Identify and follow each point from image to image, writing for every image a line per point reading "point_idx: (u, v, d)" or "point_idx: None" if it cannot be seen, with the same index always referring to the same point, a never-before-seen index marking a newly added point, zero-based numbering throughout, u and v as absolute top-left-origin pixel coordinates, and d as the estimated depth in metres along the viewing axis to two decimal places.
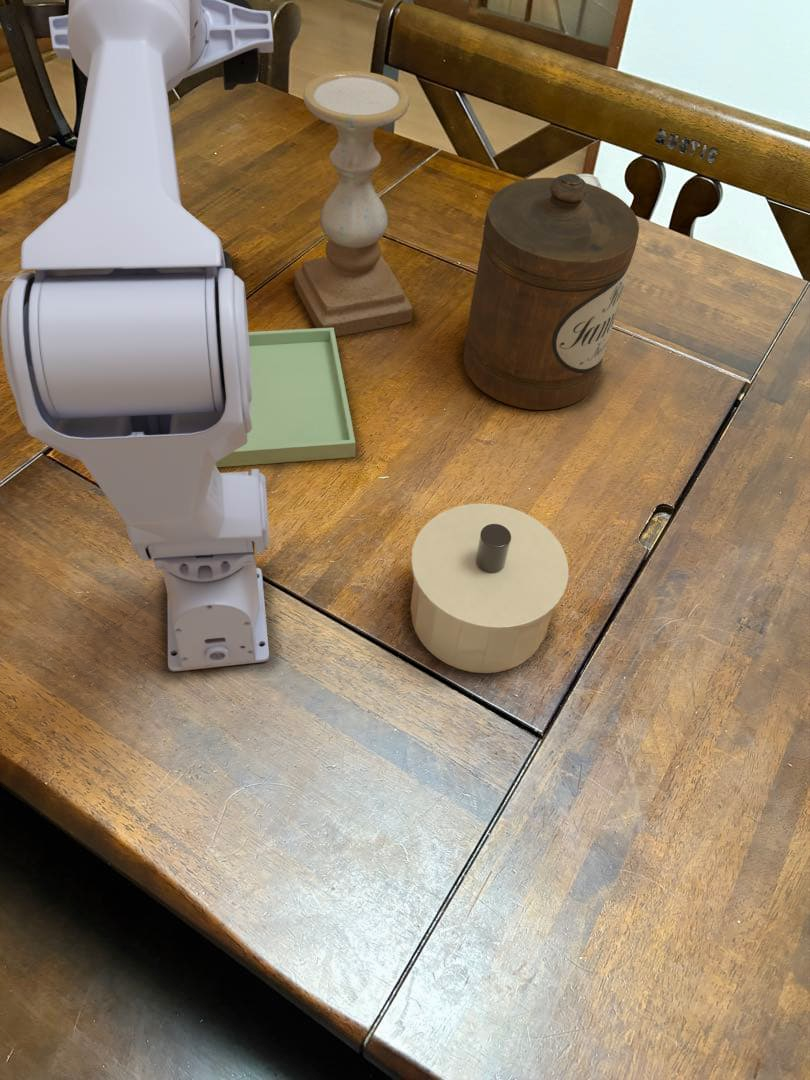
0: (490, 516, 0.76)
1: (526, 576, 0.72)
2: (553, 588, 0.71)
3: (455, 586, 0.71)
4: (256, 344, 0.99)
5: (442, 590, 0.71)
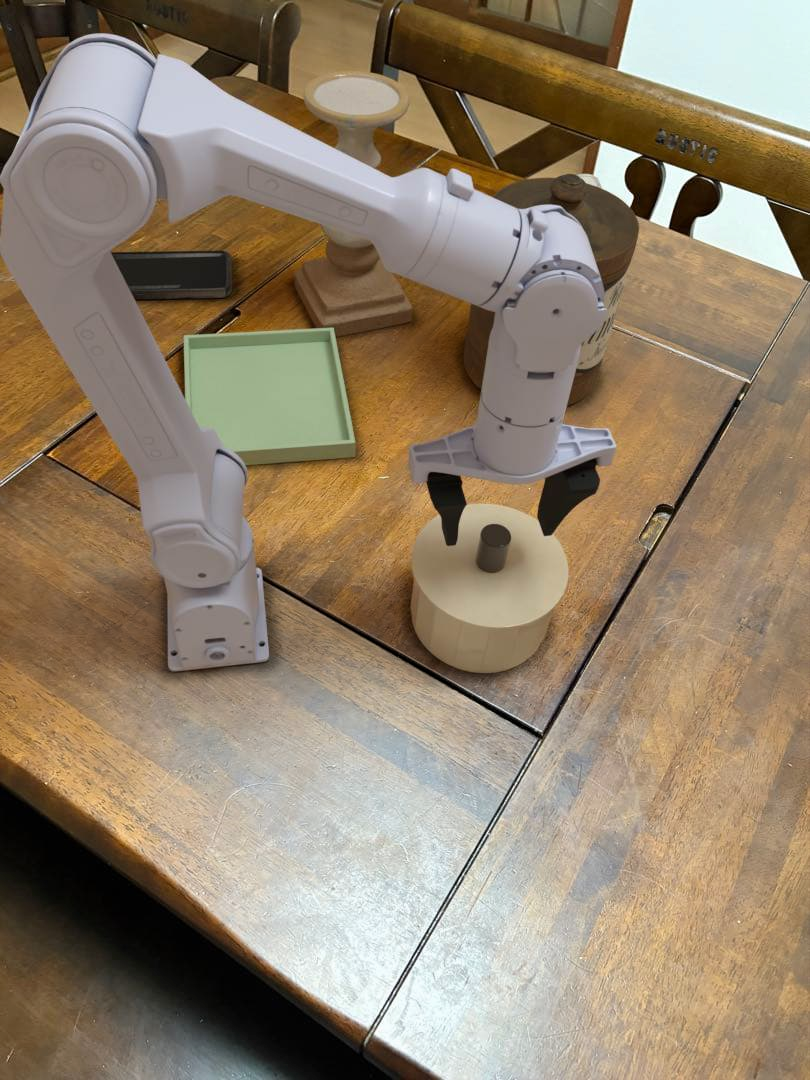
0: (490, 516, 0.76)
1: (526, 576, 0.72)
2: (553, 588, 0.71)
3: (455, 586, 0.71)
4: (256, 344, 0.99)
5: (442, 590, 0.71)
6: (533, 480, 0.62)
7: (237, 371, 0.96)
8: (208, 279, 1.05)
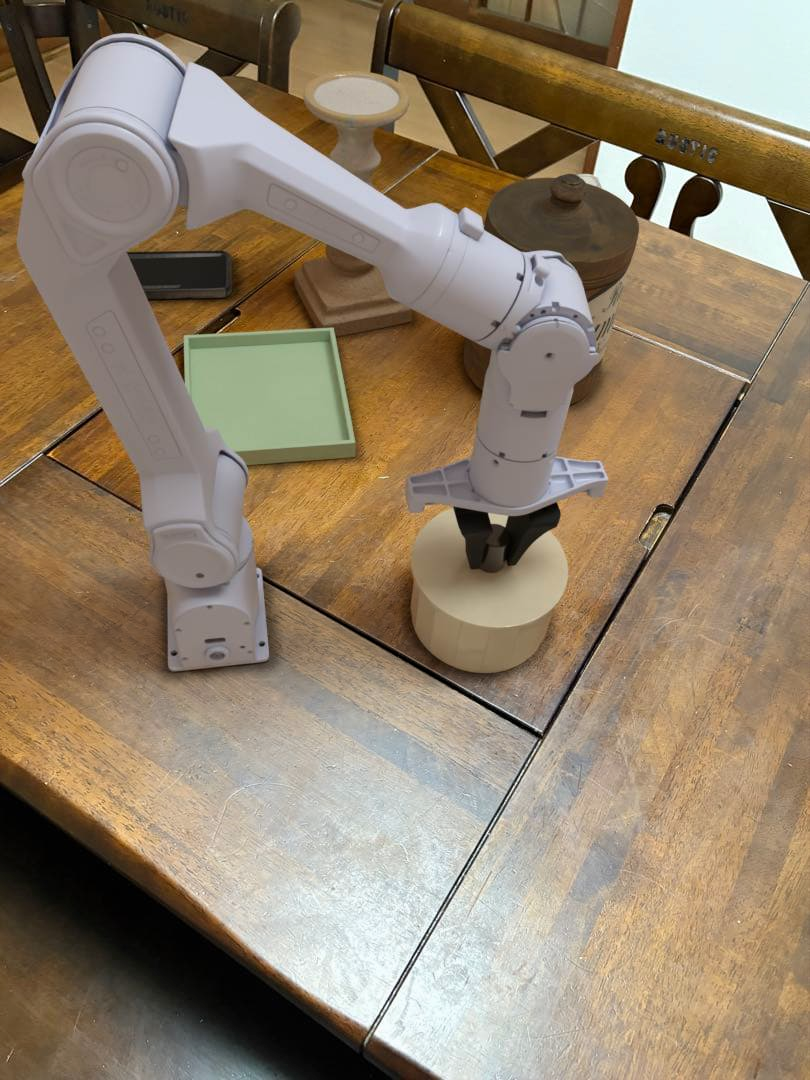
0: (490, 516, 0.76)
1: (526, 576, 0.72)
2: (553, 588, 0.71)
3: (455, 586, 0.71)
4: (256, 344, 0.99)
5: (442, 590, 0.71)
6: (526, 512, 0.64)
7: (237, 371, 0.96)
8: (208, 279, 1.05)
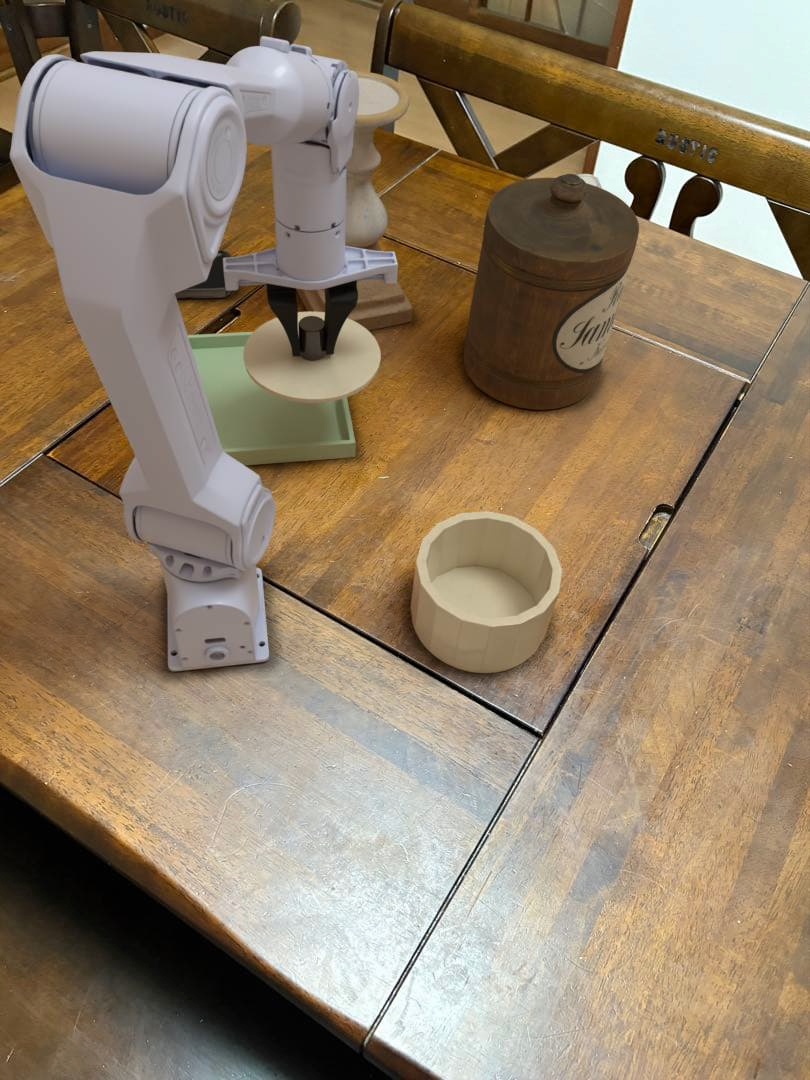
0: None
1: (342, 364, 0.83)
2: (364, 373, 0.83)
3: (278, 370, 0.82)
4: None
5: (266, 372, 0.82)
6: (322, 286, 0.75)
7: (237, 371, 0.96)
8: (208, 279, 1.05)
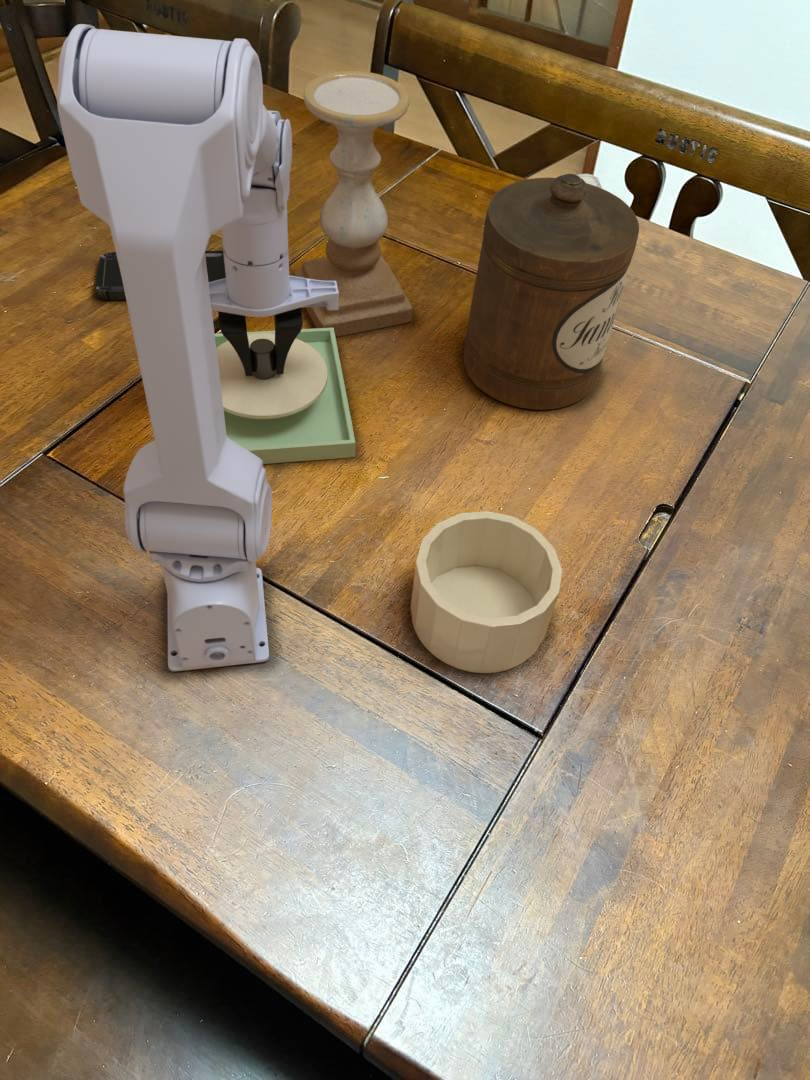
0: (271, 342, 0.94)
1: (291, 382, 0.90)
2: (311, 390, 0.90)
3: (231, 388, 0.89)
4: None
5: (221, 390, 0.89)
6: (269, 314, 0.82)
7: None
8: (208, 279, 1.05)
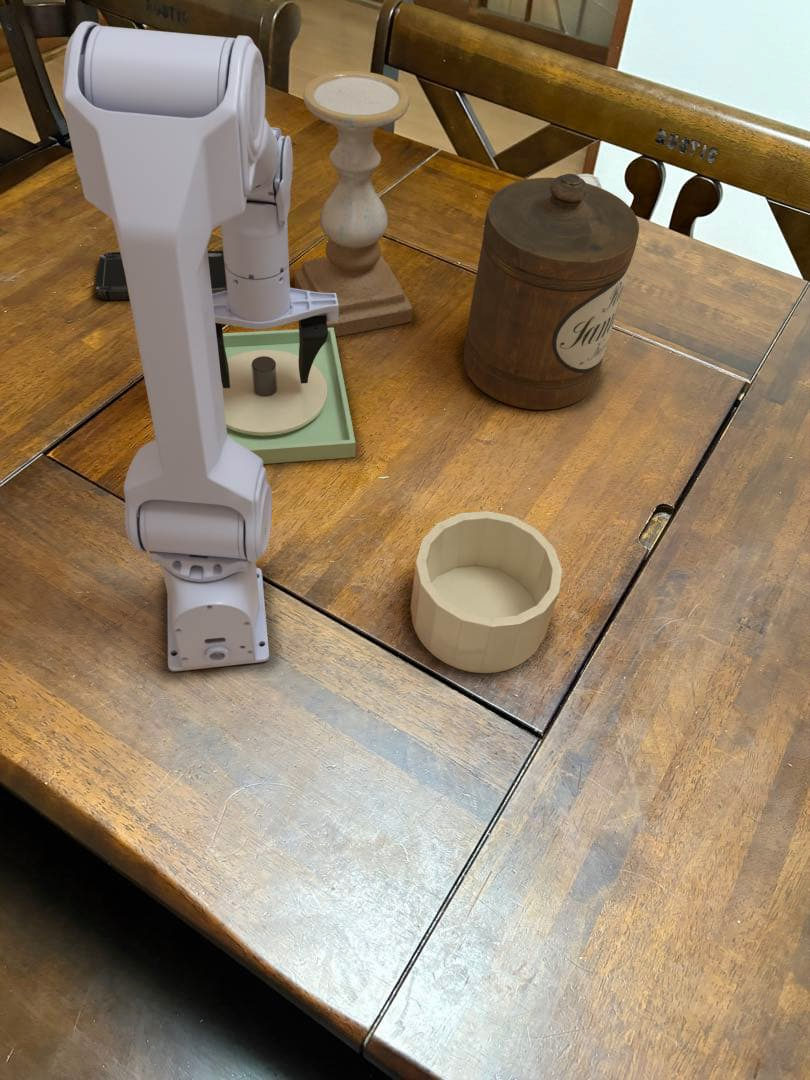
0: (272, 358, 0.96)
1: (292, 399, 0.92)
2: (311, 407, 0.92)
3: (233, 405, 0.91)
4: (256, 344, 0.99)
5: None
6: (269, 326, 0.83)
7: None
8: None
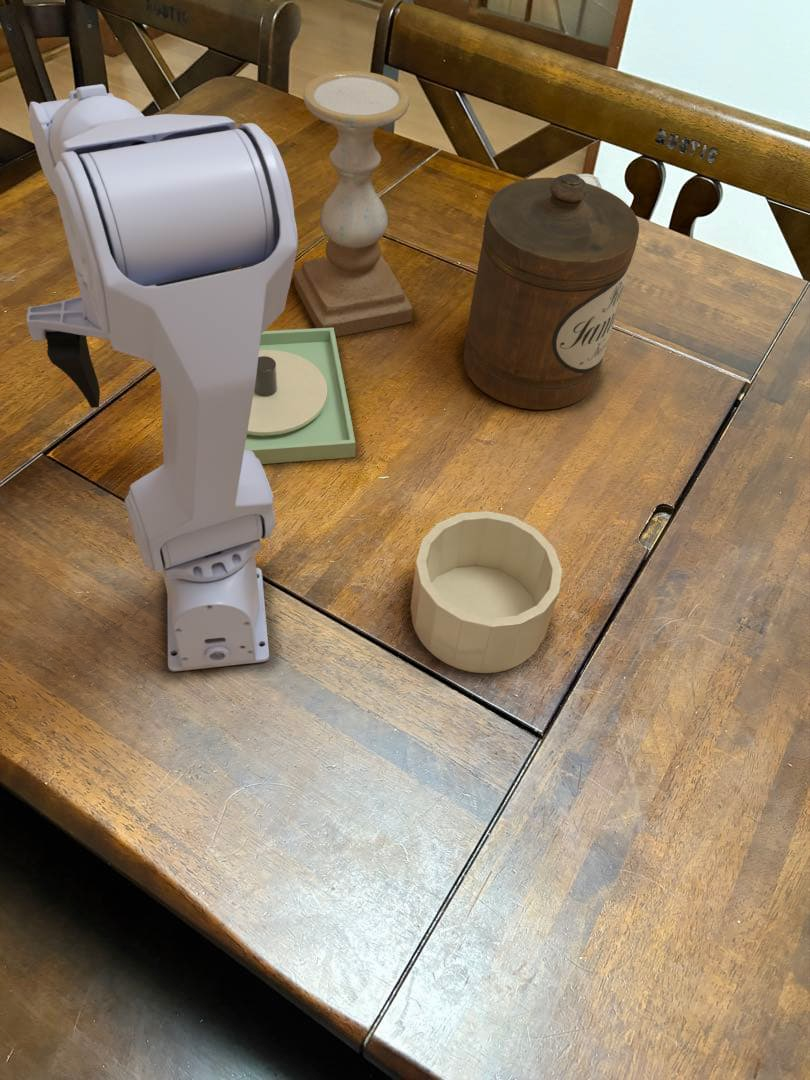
0: (272, 358, 0.96)
1: (292, 399, 0.92)
2: (311, 407, 0.92)
3: None
4: None
5: None
6: None
7: None
8: None
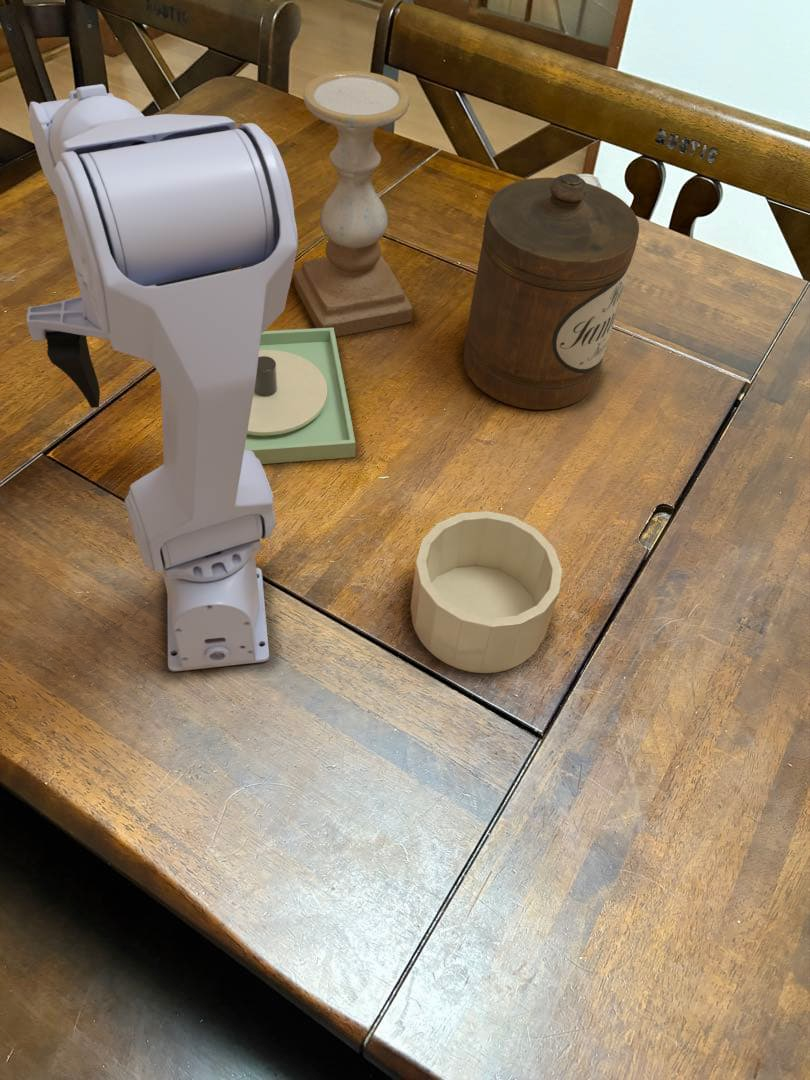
0: (272, 358, 0.96)
1: (292, 399, 0.92)
2: (311, 407, 0.92)
3: None
4: None
5: None
6: None
7: None
8: None
